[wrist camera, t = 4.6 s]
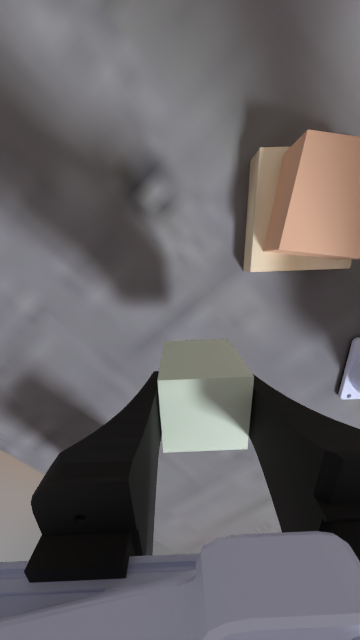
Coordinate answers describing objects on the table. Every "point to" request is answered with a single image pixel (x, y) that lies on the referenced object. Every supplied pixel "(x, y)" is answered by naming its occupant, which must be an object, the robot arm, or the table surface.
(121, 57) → the table surface
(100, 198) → the table surface
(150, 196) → the table surface
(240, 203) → the table surface
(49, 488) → the robot arm
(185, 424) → the sage cube
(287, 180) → the terracotta top block
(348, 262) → the birch base block
